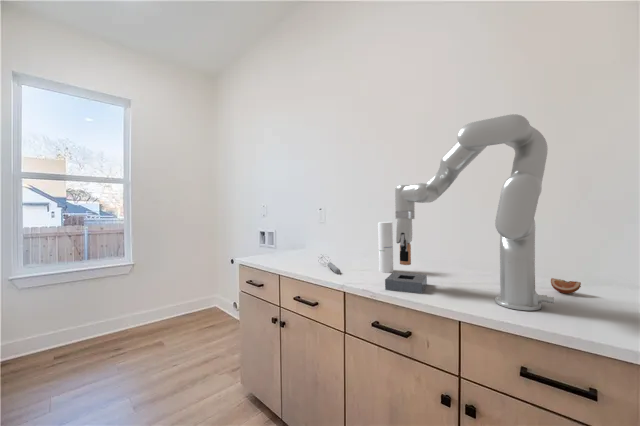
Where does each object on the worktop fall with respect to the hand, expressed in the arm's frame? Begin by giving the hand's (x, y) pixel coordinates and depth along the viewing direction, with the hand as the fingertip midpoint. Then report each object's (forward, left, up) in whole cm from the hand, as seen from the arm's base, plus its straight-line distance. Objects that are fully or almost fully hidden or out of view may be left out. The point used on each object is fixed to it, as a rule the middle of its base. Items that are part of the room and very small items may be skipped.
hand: (405, 259), depth 120 cm
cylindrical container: (+15, -26, -11) cm, 32 cm away
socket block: (0, 0, -11) cm, 11 cm away
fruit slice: (-54, -12, -12) cm, 57 cm away
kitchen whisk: (+45, -23, -12) cm, 52 cm away
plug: (0, 0, -2) cm, 2 cm away
